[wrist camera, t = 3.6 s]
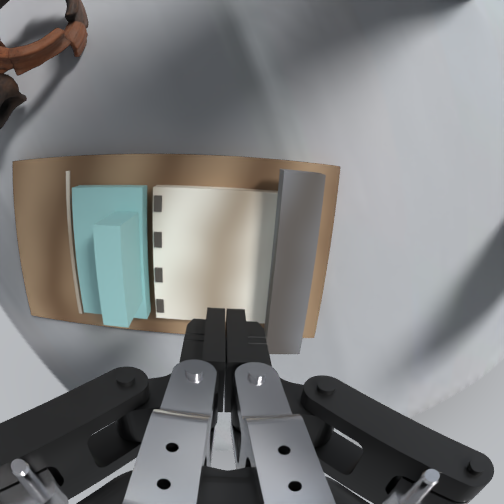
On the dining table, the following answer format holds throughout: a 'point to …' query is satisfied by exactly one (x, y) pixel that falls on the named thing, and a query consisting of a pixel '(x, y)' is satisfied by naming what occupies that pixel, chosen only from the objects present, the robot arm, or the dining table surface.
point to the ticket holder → (190, 237)
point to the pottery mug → (39, 54)
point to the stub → (112, 251)
